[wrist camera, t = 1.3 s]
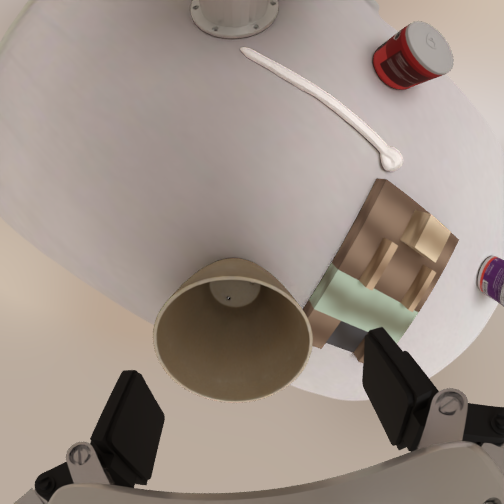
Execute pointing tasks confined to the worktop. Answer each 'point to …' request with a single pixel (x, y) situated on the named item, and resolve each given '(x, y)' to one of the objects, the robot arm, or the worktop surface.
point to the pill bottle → (492, 279)
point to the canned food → (413, 56)
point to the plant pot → (232, 333)
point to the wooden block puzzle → (374, 275)
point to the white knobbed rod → (388, 155)
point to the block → (425, 235)
